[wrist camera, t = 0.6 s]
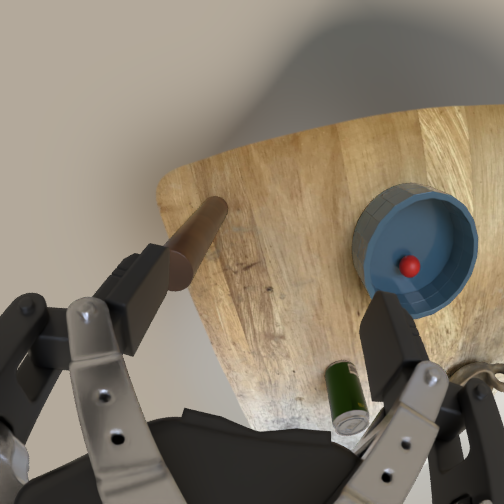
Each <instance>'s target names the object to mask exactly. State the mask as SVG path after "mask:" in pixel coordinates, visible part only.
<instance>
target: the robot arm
mask: <svg viewBox="0 0 504 504" xmlns="http://www.w3.org/2000/svg"><path fill="white" fill-rule="evenodd" d="M169 264H170V250H169V247H165V246H160V245H156V244H151V243H150V244H148V246H147V247H146V248H145V249H144V250H143V251H142V253H141V254H136V253H134V254H132V255H130V256H129V257H127V258H125V259H123V261H122V262H121V263H120V264H119V265H118V266H117V268H116V269H115V270H114V271H113V272H112V275H110V276H109V277H108V278H107V280H106V281H105V282H104V283H103V284H102V285H101V287H100V288H99V289H98V290H97V291H96V293H95V294H94V295H93V296H92V297H84V298H81V299H78V300H76V301H74V302H73V303H71V304H70V306H69V307H68V308H52V307H47V305H46V301H45V299H44V297H43V296H41V295H39V294H37V293H26V294H23V295H21V296H19V297H17V298H16V299H15V300H14V301H13V302H12V303H11V305H9V307H8V308H7V309H6V310H5V311H4V313H3V314H2V315H1V316H0V504H403V502H404V500H405V498H406V497H407V495H408V493H409V492H410V490H411V488H412V486H413V484H414V482H415V481H416V478H417V477H418V475H419V473H420V471H421V469H422V467H423V465H424V463H425V461H426V458H427V456H428V462H429V471H430V480H431V491H432V504H504V426H503V423H502V420H501V417H500V414H499V411H498V408H497V405H496V402H495V399H494V396H493V393H492V391H491V389H490V387H489V386H488V385H487V384H486V383H485V382H484V381H483V380H481V379H479V378H471V379H469V380H468V381H467V383H466V384H465V385H464V386H461V385H458V384H455V383H452V382H449V379H448V376H447V374H446V372H445V371H444V369H443V368H442V367H440V366H439V365H438V364H436V363H434V362H431V361H429V358H428V355H427V352H426V350H425V347H424V345H423V342H422V340H421V337H420V336H419V332H418V330H417V328H416V325H415V322H414V320H413V318H412V316H411V315H410V314H409V313H408V311H407V310H406V309H405V308H402V306H401V304H400V301H399V299H398V297H397V295H396V294H395V293H390V292H385V291H379V290H378V291H376V293H375V294H374V296H373V298H372V300H371V302H370V304H369V307H368V309H367V311H366V313H365V315H364V317H363V319H362V321H361V324H360V330H359V334H360V340H361V344H362V349H363V354H364V359H365V365H366V370H367V375H368V381H369V387H370V392H371V398H372V401H375V402H383V403H384V407H383V408H382V409H381V410H380V412H379V413H378V415H377V416H376V418H375V419H374V421H373V422H372V424H371V425H370V426H369V428H368V429H367V431H366V432H365V434H364V435H363V436H362V438H361V439H360V441H359V442H358V443H357V444H356V446H355V447H354V448H353V449H352V450H351V451H350V450H349V449H347V448H346V447H344V446H342V445H340V444H337V443H335V442H332V441H331V431H320V430H308V429H298V428H295V429H286V430H276V431H264V432H259V431H255V430H252V429H250V428H247V427H244V426H242V425H240V424H237V423H235V422H233V421H230V420H228V419H226V418H224V417H221V416H216V415H212V414H208V413H204V412H199V411H195V410H191V409H187V408H184V411H183V414H182V417H166V418H160V419H156V420H152V421H149V422H146V420H145V417H144V415H143V412H142V410H141V407H140V404H139V402H138V399H137V396H136V394H135V391H134V388H133V385H132V383H131V380H130V377H129V374H128V371H127V368H126V365H125V361H124V358H123V356H122V355H123V354H126V355H129V356H134V354H135V352H136V351H137V349H138V346H139V345H140V343H141V341H142V339H143V337H144V335H145V333H146V331H147V330H148V328H149V326H150V324H151V322H152V320H153V318H154V316H155V314H156V313H157V311H158V308H159V307H160V305H161V304H162V302H163V300H164V298H165V296H166V294H167V291H168V286H169ZM27 352H28V354H27ZM26 354H27V356H26V357H25V359H24V360H23V358H24V356H25V355H26ZM22 360H23V362H22V363H21V361H22ZM20 363H21V365H20V367H19V368H18V366H19V364H20ZM17 368H18V370H17ZM62 370H69V371H70V377H71V383H72V389H73V394H74V398H75V404H76V408H77V412H78V417H79V421H80V426H81V430H82V433H83V437H84V441H85V444H86V448H87V451H88V453H87V454H85V455H83V456H81V457H80V458H77V459H75V460H73V461H71V462H69V463H67V464H65V465H63V466H61V467H59V468H57V469H54V470H52V471H50V472H47V473H45V474H43V475H41V476H38V477H36V478H34V479H32V480H30V481H29V480H28V474H27V472H28V471H29V454H28V451H27V449H26V447H25V444H26V441H27V439H28V437H29V435H30V433H31V431H32V429H33V426H34V424H35V422H36V420H37V418H38V416H39V414H40V412H41V410H42V408H43V406H44V404H45V402H46V400H47V398H48V396H49V394H50V392H51V390H52V389H53V386H54V384H55V383H56V381H57V379H58V377H59V375H60V374H61V372H62ZM465 429H466V431H467V435H468V440H469V444H470V451H469V454H468V456H467V458H466V459H465V460H464V457H463V452H462V447H461V442H460V437H459V434H460V433H461V432H463V431H464V430H465Z"/></svg>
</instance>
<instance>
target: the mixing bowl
mask: <svg viewBox="0 0 504 504" xmlns="http://www.w3.org/2000/svg"><path fill="white" fill-rule="evenodd" d="M477 252H478V235H477V230H476V226H475V222H474V219H473V217H472V216H471V214H470V213H469V211H468V209H467V208H466V206H465V205H464V204H463V203H461V202H460V201H458V200H457V199H456V198H454V197H453V196H452V195H449V194H447V193H445V192H443V191H440V190H438V189H435V188H433V187H431V186H426V185H423V184H418V183H405V184H399V185H396V186H393V187H391V188H389V189H387V190H385V191H384V192H382V193H381V194H379V195H378V196H377V197H376V198H375V199H373V200H372V201H371V203H370V204H369V205H368V206H367V207H366V209H365V210H364V212H363V213H362V215H361V217H360V218H359V220H358V223H357V225H356V228H355V231H354V235H353V241H352V256H353V262H354V267H355V269H356V271H357V273H358V275H359V277H360V279H361V281H362V283H363V285H364V287H365V289H366V290H367V292H368V294H369V296H370V298H371V300H372V298H373V296H374V294H375V293H376V291H378V290H379V291H385V292H390V293H395V294H396V295H397V297H398V299H399V301H400V304H401V306H402V308H405V309H406V310H407V311H408V313H409V314H410V315H411V316H412V318H413V319H418V318H422V317H425V316H428V315H432V314H434V313H436V312H437V311H439V310H441V309H442V308H444V307H445V306H447V305H449V304H450V303H451V302H452V301H453V300H454V299H455V298H456V296H457V295H458V294H459V293H460V292H461V291H462V290H463V288H464V286H465V285H466V283H467V281H468V280H469V278H470V276H471V275H472V272H473V269H474V265H475V262H476V259H477ZM407 255H413V256H415V257H416V258H417V259H418V260H419V262H420V270H419V272H418V274H417V275H416V276H414V277H412V278H407V277H405V276H403V275H402V274H401V272H400V270H399V264H400V261H401V259H402V258H403V257H405V256H407Z"/></svg>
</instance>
